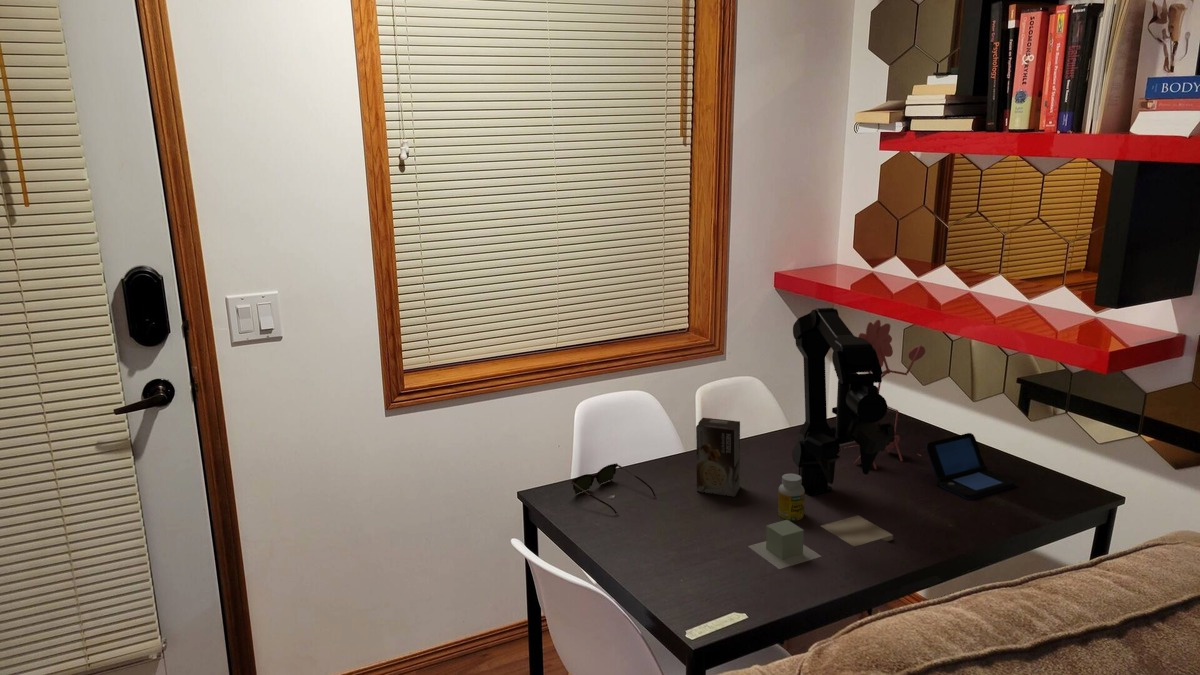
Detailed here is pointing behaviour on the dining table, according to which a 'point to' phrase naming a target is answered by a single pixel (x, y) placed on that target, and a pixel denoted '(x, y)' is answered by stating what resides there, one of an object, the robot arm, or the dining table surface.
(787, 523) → the sage block
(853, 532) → the birch pad
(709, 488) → the coffee box
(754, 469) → the dining table surface
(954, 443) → the handheld game console
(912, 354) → the figurine
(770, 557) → the grey pad
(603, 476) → the sunglasses
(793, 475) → the supplement bottle
